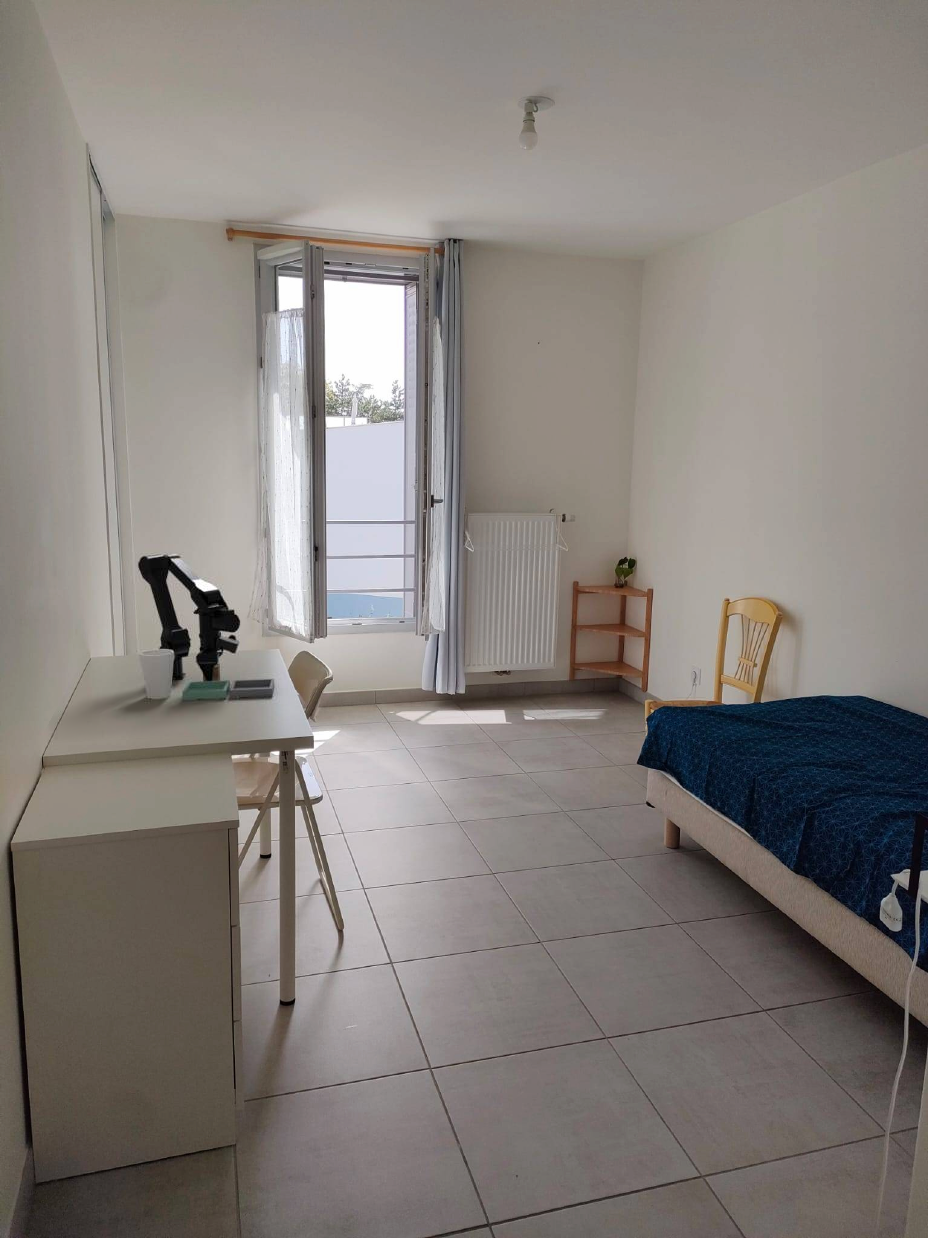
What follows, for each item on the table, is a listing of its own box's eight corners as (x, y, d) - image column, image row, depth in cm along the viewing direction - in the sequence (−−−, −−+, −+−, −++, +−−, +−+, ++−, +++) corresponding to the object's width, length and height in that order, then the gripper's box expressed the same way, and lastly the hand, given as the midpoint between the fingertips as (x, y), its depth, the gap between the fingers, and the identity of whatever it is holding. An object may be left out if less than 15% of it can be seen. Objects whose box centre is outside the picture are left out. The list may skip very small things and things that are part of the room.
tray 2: (233, 688, 264) (233, 680, 264) (274, 686, 266) (274, 678, 265) (229, 698, 252) (229, 690, 252) (272, 696, 254) (272, 688, 254)
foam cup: (181, 692, 259) (179, 649, 257) (168, 700, 250) (165, 656, 248) (150, 691, 260) (148, 648, 258) (136, 700, 251) (133, 655, 249)
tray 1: (188, 690, 262) (188, 681, 262) (230, 688, 264) (229, 680, 263) (182, 700, 250) (182, 692, 250) (226, 698, 252) (225, 690, 252)
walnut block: (205, 683, 271) (204, 664, 270) (220, 682, 271) (219, 663, 270) (203, 686, 266) (202, 667, 265) (218, 686, 267) (217, 666, 266)
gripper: (233, 634, 258) (236, 686, 261) (239, 623, 276) (241, 671, 279) (194, 635, 256) (197, 687, 259) (202, 624, 274) (205, 672, 277)
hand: (211, 679), depth 268 cm, fingers open, 9 cm apart
